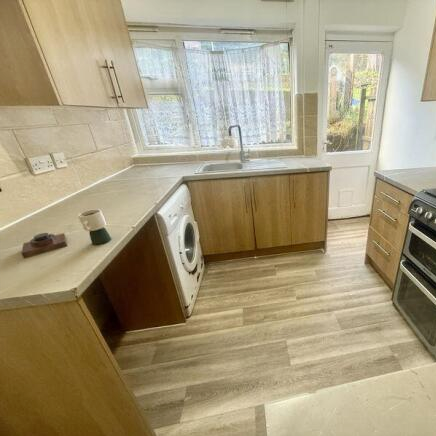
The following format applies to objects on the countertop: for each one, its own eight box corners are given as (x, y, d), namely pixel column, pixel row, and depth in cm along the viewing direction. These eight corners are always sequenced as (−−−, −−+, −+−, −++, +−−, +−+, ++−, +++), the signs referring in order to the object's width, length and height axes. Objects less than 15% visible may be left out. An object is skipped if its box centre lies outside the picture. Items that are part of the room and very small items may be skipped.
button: (35, 242, 91) (33, 238, 90) (35, 239, 93) (33, 235, 93) (49, 239, 93) (47, 235, 92) (49, 235, 96) (48, 231, 95)
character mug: (99, 237, 102) (86, 208, 96) (118, 234, 103) (106, 206, 97) (84, 250, 92) (69, 219, 86) (105, 248, 93) (92, 217, 87)
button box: (24, 258, 88) (18, 248, 86) (26, 248, 94) (21, 239, 93) (67, 246, 95) (63, 237, 93) (66, 237, 102) (62, 229, 100)
